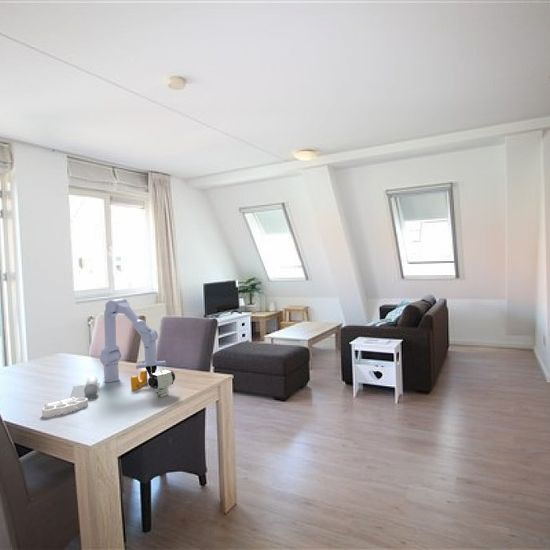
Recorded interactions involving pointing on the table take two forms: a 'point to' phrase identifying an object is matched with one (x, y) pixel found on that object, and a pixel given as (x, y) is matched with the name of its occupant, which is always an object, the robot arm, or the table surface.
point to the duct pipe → (86, 389)
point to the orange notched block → (139, 380)
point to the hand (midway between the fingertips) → (151, 380)
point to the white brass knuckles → (64, 406)
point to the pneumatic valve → (161, 381)
